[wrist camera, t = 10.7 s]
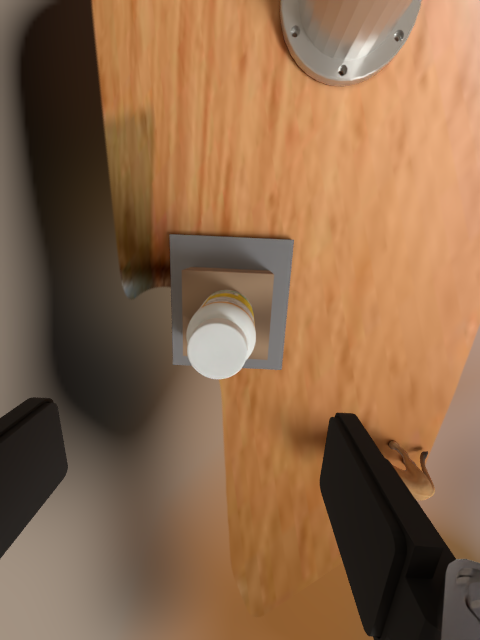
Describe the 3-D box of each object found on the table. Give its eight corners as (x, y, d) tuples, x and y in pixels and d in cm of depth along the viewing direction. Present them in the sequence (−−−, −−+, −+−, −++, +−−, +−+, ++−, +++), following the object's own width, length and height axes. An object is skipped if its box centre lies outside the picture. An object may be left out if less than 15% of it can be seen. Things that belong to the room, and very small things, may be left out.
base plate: (171, 234, 29) (169, 234, 29) (292, 240, 29) (293, 239, 29) (174, 362, 34) (173, 364, 33) (280, 367, 34) (281, 369, 33)
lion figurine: (322, 470, 38) (345, 536, 29) (321, 441, 37) (345, 500, 28) (423, 463, 37) (477, 527, 29) (426, 432, 36) (484, 490, 27)
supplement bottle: (227, 277, 25) (218, 294, 16) (264, 316, 26) (275, 353, 17) (189, 314, 26) (159, 349, 17) (226, 350, 27) (217, 402, 18)
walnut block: (191, 266, 30) (181, 270, 25) (269, 270, 30) (274, 274, 25) (192, 339, 32) (183, 355, 27) (264, 343, 32) (267, 359, 27)
